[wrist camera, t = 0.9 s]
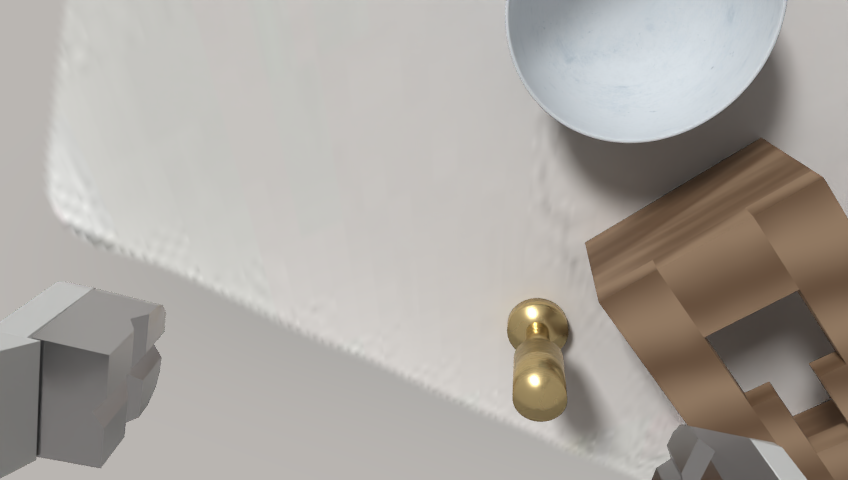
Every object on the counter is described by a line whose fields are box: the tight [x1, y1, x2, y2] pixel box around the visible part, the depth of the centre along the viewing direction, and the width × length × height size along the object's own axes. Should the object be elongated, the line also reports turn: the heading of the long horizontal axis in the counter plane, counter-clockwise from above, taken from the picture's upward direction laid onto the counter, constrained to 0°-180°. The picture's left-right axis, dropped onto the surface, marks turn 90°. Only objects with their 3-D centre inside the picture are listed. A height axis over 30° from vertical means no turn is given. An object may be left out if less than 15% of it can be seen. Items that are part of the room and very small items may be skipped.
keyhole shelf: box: [585, 138, 848, 480], centre depth 44 cm, size 24×14×10 cm, turn 37°
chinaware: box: [505, 0, 787, 143], centre depth 38 cm, size 15×15×8 cm
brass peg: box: [507, 298, 568, 422], centre depth 47 cm, size 5×5×10 cm
